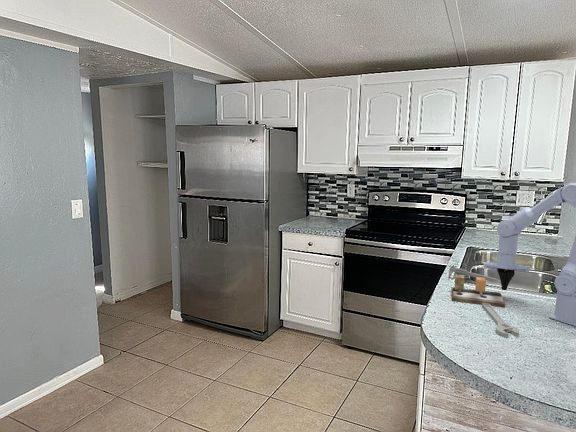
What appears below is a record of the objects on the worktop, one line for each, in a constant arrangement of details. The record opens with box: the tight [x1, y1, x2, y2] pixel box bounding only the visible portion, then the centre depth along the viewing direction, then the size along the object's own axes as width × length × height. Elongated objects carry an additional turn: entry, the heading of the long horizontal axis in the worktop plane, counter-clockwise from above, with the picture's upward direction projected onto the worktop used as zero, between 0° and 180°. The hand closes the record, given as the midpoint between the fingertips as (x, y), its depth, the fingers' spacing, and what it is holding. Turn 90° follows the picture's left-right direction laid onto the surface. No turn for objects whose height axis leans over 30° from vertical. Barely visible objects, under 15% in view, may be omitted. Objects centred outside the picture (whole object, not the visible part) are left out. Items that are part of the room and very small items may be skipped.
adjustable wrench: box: [481, 303, 520, 339], centre depth 129 cm, size 25×6×2 cm, turn 165°
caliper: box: [448, 264, 501, 283], centre depth 170 cm, size 20×1×6 cm, turn 76°
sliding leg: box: [474, 277, 487, 297], centre depth 148 cm, size 3×8×5 cm, turn 159°
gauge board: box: [450, 274, 506, 308], centre depth 148 cm, size 17×12×7 cm
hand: (503, 289), depth 148 cm, fingers closed
